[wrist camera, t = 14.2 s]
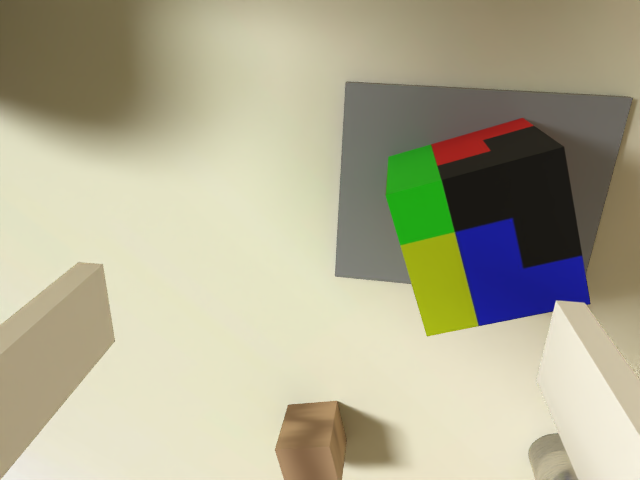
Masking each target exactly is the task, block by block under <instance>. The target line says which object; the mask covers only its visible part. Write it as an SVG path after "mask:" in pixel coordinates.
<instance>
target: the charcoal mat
mask: <svg viewBox="0 0 640 480" xmlns="http://www.w3.org/2000/svg"><path fill="white" fill-rule="evenodd" d="M632 99H633V98H631V97H626V96H607V95H588V94H570V93H551V92H532V91H513V90H495V89H476V88H457V87H438V86H420V85H401V84H382V83H363V82H346V86H345V104H344V122H343V140H342V158H341V176H340V194H339V212H338V230H337V248H336V267H335V276H336V277H346V278H356V279H366V280H377V281H387V282H397V283H407V284H411V280H410V277H409V274H408V270H407V267H406V263H405V260H404V257H403V253H402V250H401V246H400V243H399V240H398V236H397V233H396V230H395V226H394V223H393V219H392V216H391V213H390V209H389V206H388V202H387V199H386V196H385V194H386V180H387V167H388V157H389V156H392V155H396V154H399V153H403V152H406V151H410V150H413V149H417V148H420V147H424V146H427V145H430V144H434V143H437V142H441V141H444V140H448V139H451V138H455V137H458V136H461V135H465V134H468V133H472V132H475V131H479V130H482V129H486V128H489V127H493V126H496V125H499V124H503V123H506V122H510V121H513V120H517V119H520V118H524V119H525V120H527V121H528V122H530V123H531V124H532V125H534V126H535V127H537V128H538V129H540V130H541V131H542V132H544V133H545V134H547V135H548V136H550V137H551V138H553V139H554V140H555V141H557V142H558V143H560V144H561V145H563V146H564V148H565V154H566V160H567V166H568V172H569V178H570V184H571V190H572V196H573V202H574V208H575V214H576V220H577V226H578V232H579V238H580V244H581V250H582V256H583V262H584V268H585V274H586V271H587V267H588V264H589V260H590V256H591V252H592V249H593V245H594V241H595V237H596V234H597V230H598V226H599V222H600V219H601V215H602V211H603V207H604V204H605V200H606V196H607V192H608V189H609V185H610V181H611V177H612V174H613V170H614V166H615V163H616V159H617V155H618V151H619V148H620V144H621V140H622V136H623V133H624V129H625V125H626V121H627V118H628V114H629V110H630V106H631V103H632Z"/></svg>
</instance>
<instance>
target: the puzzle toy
mask: <svg viewBox="0 0 640 480" xmlns="http://www.w3.org/2000/svg"><path fill="white" fill-rule="evenodd" d="M385 196H386V199H387V202H388V206H389V209H390V213H391V216H392V219H393V223H394V226H395V230H396V233H397V236H398V240H399V243H400V246H401V250H402V253H403V257H404V260H405V263H406V267H407V270H408V274H409V277H410V280H411V284H412V287H413V291H414V294H415V297H416V301H417V304H418V308H419V311H420V314H421V318H422V321H423V325H424V328H425V331H426V335H427V336H431V335H436V334H441V333H446V332H451V331H456V330H461V329H467V328H472V327H477V326H482V325H487V324H492V323H497V322H502V321H507V320H512V319H517V318H522V317H527V316H532V315H537V314H542V313H547V312H552V311H553V310H554V306H555V302H556V300H557V301H570V302H582V303H585V304H586V305H588V304H590V298H589V292H588V286H587V280H586V274H585V268H584V262H583V256H582V250H581V244H580V238H579V232H578V226H577V220H576V214H575V208H574V202H573V196H572V190H571V184H570V178H569V172H568V166H567V160H566V154H565V148H564V146H563V145H561V144H560V143H558V142H557V141H555V140H554V139H553V138H551V137H550V136H548V135H547V134H545V133H544V132H542V131H541V130H540V129H538V128H537V127H535V126H534V125H532V124H531V123H530V122H528V121H527V120H525V119H524V118H520V119H517V120H513V121H510V122H506V123H503V124H499V125H496V126H493V127H489V128H486V129H482V130H479V131H475V132H472V133H468V134H465V135H461V136H458V137H455V138H451V139H448V140H444V141H441V142H437V143H434V144H430V145H427V146H424V147H420V148H417V149H413V150H410V151H406V152H403V153H399V154H396V155H392V156H389V157H388V167H387V180H386V194H385Z"/></svg>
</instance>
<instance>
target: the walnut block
mask: <svg viewBox="0 0 640 480" xmlns="http://www.w3.org/2000/svg"><path fill="white" fill-rule="evenodd" d="M346 443H347V440H346V436H345V432H344V427H343V423H342V419H341V415H340V411H339V407H338V403H337V401H330V402H317V403H304V404H292V405H288V407H287V411H286V414H285V417H284V421H283V424H282V428H281V431H280V434H279V438H278V441H277V445H276V448H275V451H276V455H277V458H278V461H279V464H280V468H281V471H282V474H283V477H284V480H342V474H343V466H344V458H345V450H346Z"/></svg>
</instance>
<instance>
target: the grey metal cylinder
mask: <svg viewBox="0 0 640 480" xmlns="http://www.w3.org/2000/svg"><path fill="white" fill-rule="evenodd" d="M528 456H529V460H530V463H531V467H532V470H533V473H534V476H535V480H578V478H577V476H576V473H575V471H574V469H573V466H572V464H571V462H570V459H569V457H568V454H567V452H566V450H565V447H564V445H563V443H562V440H561V438H560V436H559V434H549V435H545V436H543V437H540V438H539V439H537V440H536V441H535V442H534V443H533V444H532V445H531V447H530V449H529V453H528Z"/></svg>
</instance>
